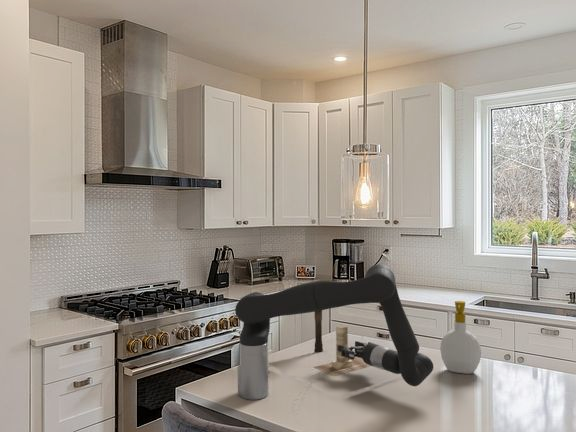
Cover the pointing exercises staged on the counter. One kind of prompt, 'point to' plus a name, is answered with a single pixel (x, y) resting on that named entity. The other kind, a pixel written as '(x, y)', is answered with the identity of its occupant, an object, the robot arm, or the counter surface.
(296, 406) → the counter surface
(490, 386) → the counter surface
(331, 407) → the counter surface
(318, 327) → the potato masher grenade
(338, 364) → the tan upright block
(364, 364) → the board
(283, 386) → the counter surface
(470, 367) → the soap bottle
